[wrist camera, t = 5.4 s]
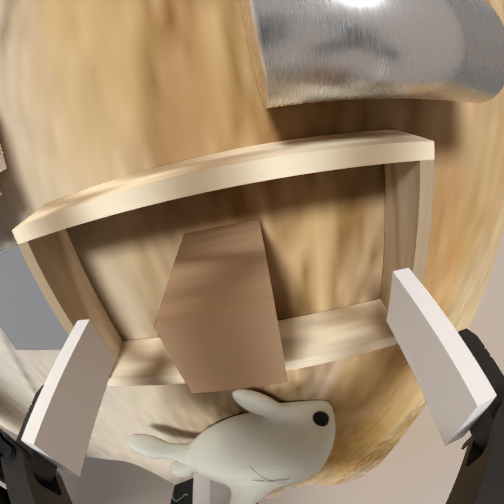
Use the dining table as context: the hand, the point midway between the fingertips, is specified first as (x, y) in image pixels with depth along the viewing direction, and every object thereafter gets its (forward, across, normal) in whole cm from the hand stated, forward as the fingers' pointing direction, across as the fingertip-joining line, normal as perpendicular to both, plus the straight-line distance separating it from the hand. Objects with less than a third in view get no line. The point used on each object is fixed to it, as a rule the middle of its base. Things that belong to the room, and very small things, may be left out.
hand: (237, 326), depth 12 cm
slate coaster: (+5, -17, 0) cm, 18 cm away
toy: (+6, -4, -19) cm, 20 cm away
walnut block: (+5, 0, 0) cm, 5 cm away
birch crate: (+5, 0, 0) cm, 5 cm away
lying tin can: (+5, +8, +11) cm, 14 cm away
